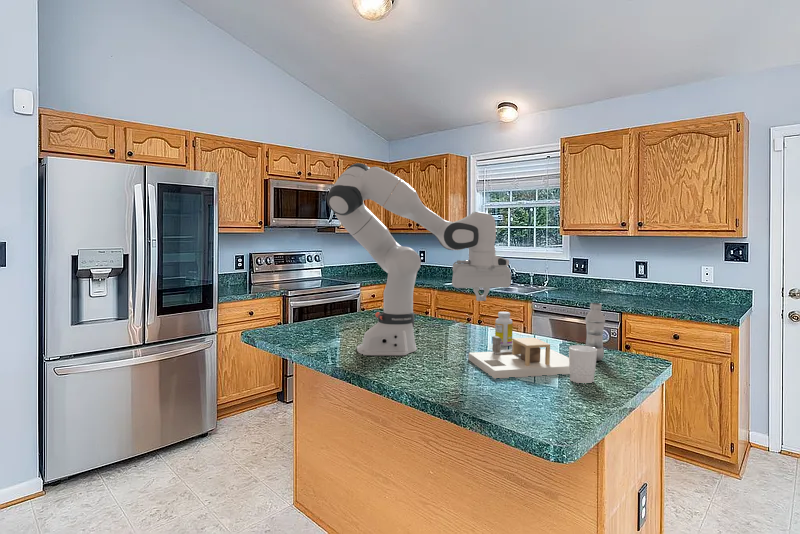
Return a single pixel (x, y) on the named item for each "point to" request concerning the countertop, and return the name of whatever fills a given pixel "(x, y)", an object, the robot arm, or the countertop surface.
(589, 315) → the plastic bottle
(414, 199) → the robot arm
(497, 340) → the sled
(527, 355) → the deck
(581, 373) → the white cup
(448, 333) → the countertop surface
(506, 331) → the supplement bottle
